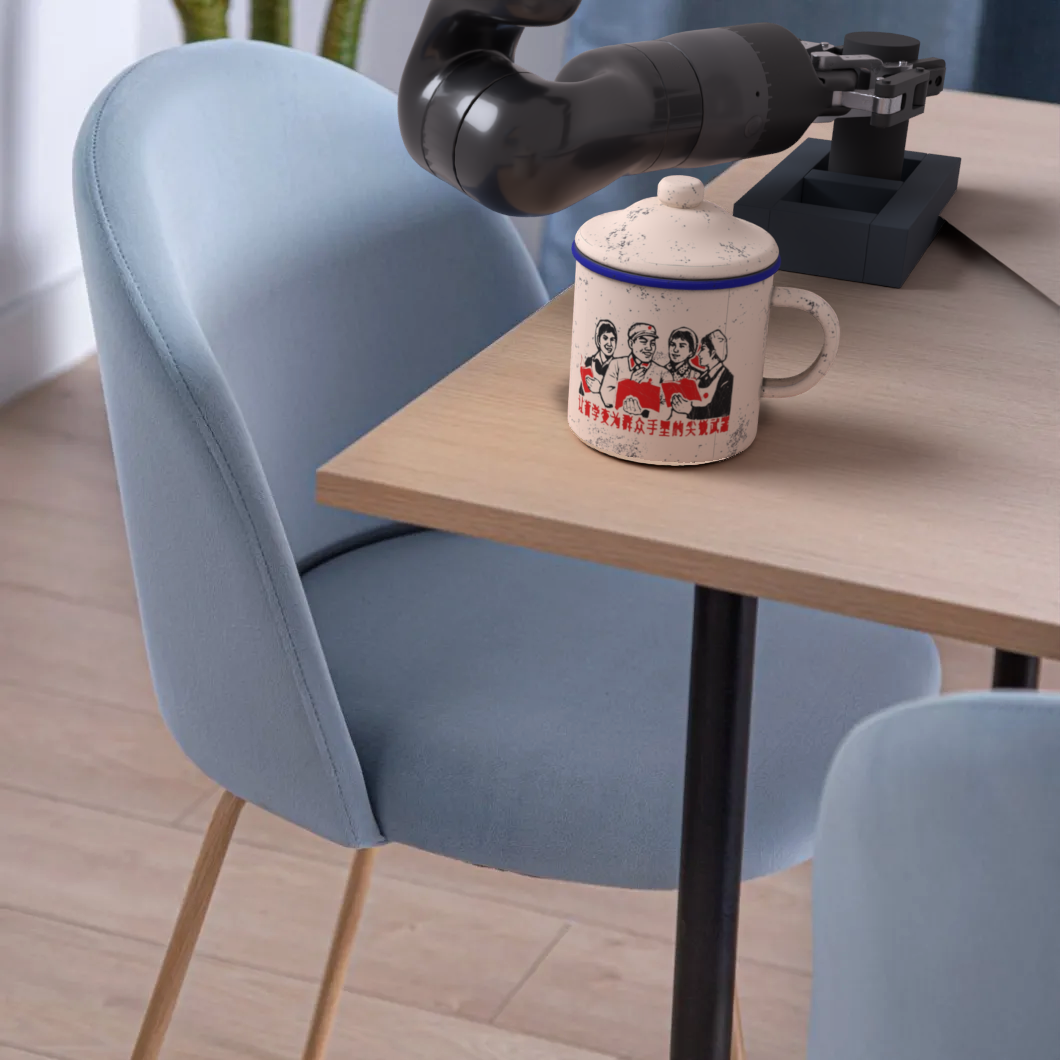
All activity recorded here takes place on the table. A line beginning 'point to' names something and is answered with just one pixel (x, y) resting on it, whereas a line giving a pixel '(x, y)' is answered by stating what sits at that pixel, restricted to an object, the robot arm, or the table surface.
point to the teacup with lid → (679, 328)
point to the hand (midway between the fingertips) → (905, 67)
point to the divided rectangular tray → (851, 214)
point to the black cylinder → (854, 137)
